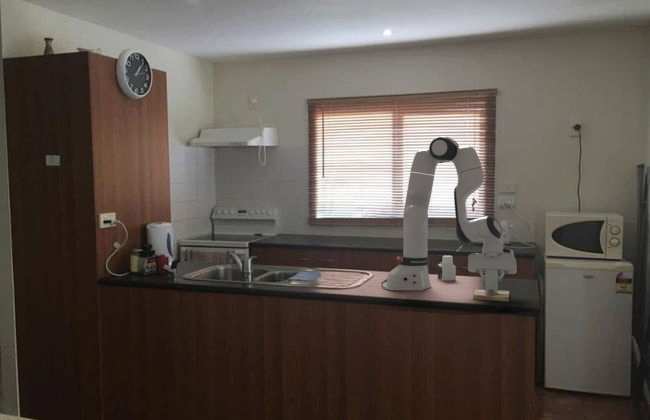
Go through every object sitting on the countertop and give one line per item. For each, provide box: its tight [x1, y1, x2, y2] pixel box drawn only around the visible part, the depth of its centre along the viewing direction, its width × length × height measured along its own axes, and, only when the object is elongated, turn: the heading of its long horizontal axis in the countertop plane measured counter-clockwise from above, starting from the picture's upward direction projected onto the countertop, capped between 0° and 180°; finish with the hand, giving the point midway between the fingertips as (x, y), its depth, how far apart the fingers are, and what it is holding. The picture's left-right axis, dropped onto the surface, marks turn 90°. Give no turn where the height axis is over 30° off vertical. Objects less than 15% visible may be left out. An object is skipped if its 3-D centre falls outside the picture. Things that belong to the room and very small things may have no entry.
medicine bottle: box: [437, 254, 457, 282], centre depth 278 cm, size 7×7×12 cm
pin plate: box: [473, 288, 510, 302], centre depth 238 cm, size 14×14×4 cm
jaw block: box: [484, 269, 499, 293], centre depth 238 cm, size 5×5×9 cm
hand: (491, 280), depth 237 cm, fingers closed on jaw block, 5 cm apart
